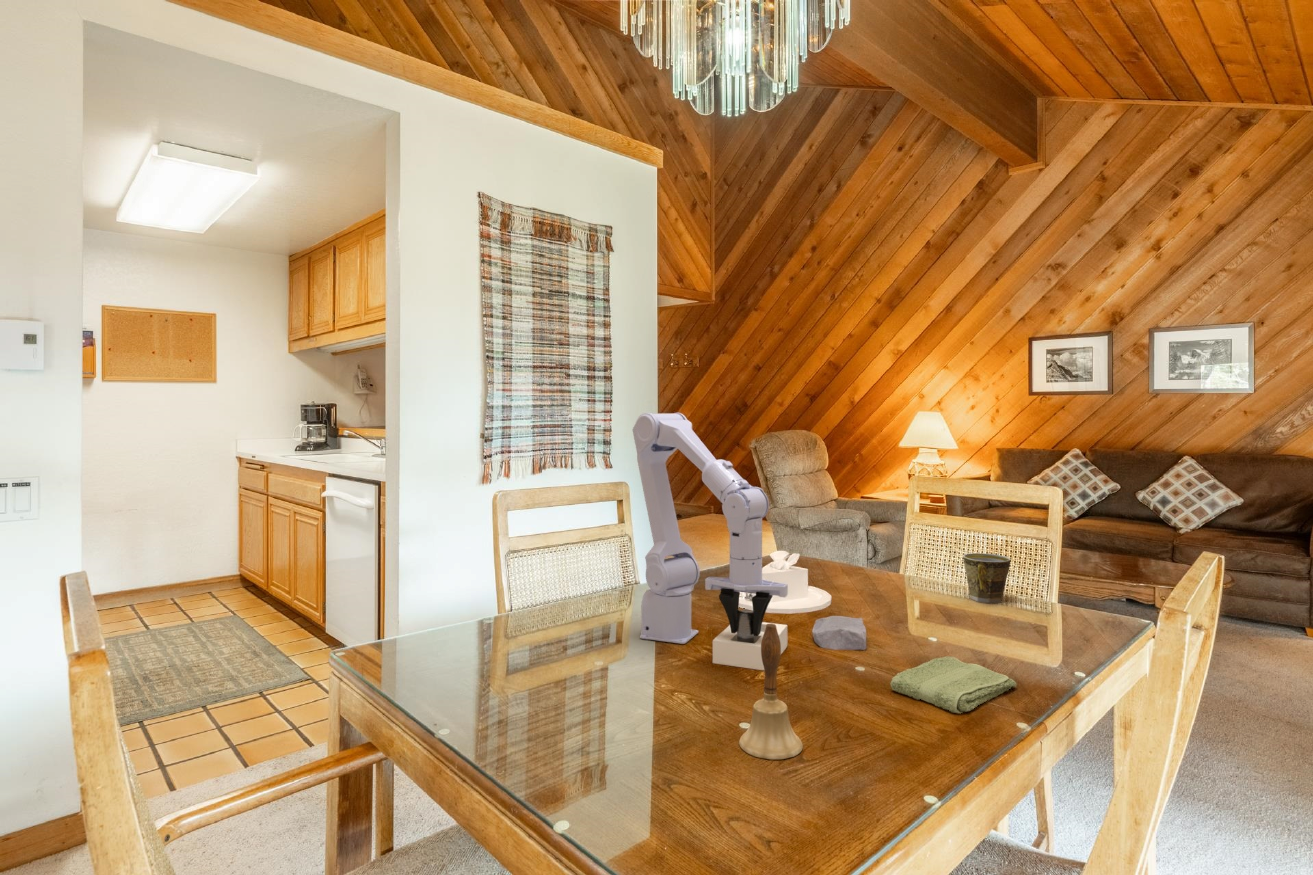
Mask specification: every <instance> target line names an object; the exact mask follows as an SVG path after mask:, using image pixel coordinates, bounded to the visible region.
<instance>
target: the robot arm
mask: <svg viewBox="0 0 1313 875" xmlns="http://www.w3.org/2000/svg"><path fill="white" fill-rule="evenodd" d="M632 434H633V439H634V443H635V450H636V461H637V466H638V470H639V475H640V476H639V477H640V481H641V486H642V491H643V495H644V501H645V505H646V510H647V515H648V521H649V526H650V531H651V537H652V540H653V542H652V543H653V546H652V547H651V549H650V550H649V551H648V553H646V555H645V556H644V558H645V564H646V566H645V568H646V569H645V580H646V583H647V585H648V588H649V589H647V590H646V591H645V592H644V593H643V596H642V598H641V606H640V608H641V609H640V610H641V611H640V613H641V615H640V617H641V620H640V621H641V622H640V624H641V625H640V626H641V631H640V632H641V634H640V635H639V638H640V639H643V640H652V641H659V642H664V643H665V642H667V643H674V644H681V645H684V644H687V643H688V642H689V641H690V640H691V639H693V637H695V636H696V635H697V634H698V633H699V630H697V629H693V628H692V591H694V589H695V588H694V587H695V585H696V584H697V583H698V581H699V579H700V573H701V572H700V566H699V563H698V561H697V559H696V558H695V556H694V554H693V553H694V552H693V548H692V547H691V546H690V545H689V544H687V542H684V541H683V540H682V537H681V533H680V527H679V523H678V518H677V512H676V509H675V504H674V499H673V494H672V490H671V485H670V481H669V480H670V479H669V474H668V469H667V461H668V459H669V457H670V456H672V455H673V454H674V453H675V452H676V451H677V450H679V451H680V452H681V454H683V456H685V457H686V458H687V459H688V460H689V461H690V462H691V463H692V464H694V465H695V467H697V469H699V470H700V471H701V472H702V473H701V480H702V482H703V484H704V485H705V486H706V487H707V488H708V489H709V490H710V492H712V494H713V496H715V497H716V499H717V500H718V501H719V502H720V503H722V504H721V509H722V513H723V515H724V517H725V519H726V523H727V524H726V525H727V526H726V527H727V530H728V532H729V577H728V576H727V577H724V576H723V577H719V576H708V577H706V578H705V579H704V581H705V584H704V587H705V590H706V591H711V590H717V591H718V590H719V591H720V593H719V595H718V599H719V601H720V603H721V605H722V607H723V609H724V611H725V614H726V616H727V619H728V623H729V625H730V628H731V633H736V632H737V611H738V610H739V607H738V606H739V595H740V592H745V593H755V594H756V595H755V596H754V597H753V598H752V604H753V614H754V624H753V635H754V636H758V635H759V634H760V632H761V626H762V622H764V617H765V615H766V614H765V613H766V609H767V607H768V604H769V602H770V600H771V598H772V596H773V595H776V596H779V597H786V596H787V595H788V584H783V583H776V582H771V581H766V580H762V568H763V518H765V517H766V516H767V514H768V512H769V510H770V502H769V498H768V496H767V494H766V492H764V489H763V488H761V487H758V486H753V485H751V484H749V482H748V481H747V480H746V479H744V478H743V477H742V476H741V475H740V474H739V473H738V472H737V470H735V468H733V466H734V465H733V462H731V461H730V460H725V459H721V458H720V459H716V457H715V456H714V455H713V454H712V452H711V451H710V450H709V449H708V448H707V446H706V445H705V444H704V442H703V441H701V439H700V437H699V436H698V435H697V434H696V433H695V431H694V430H693V423H692V422H691V421H690V420H688V419H687V417H686V415H684V414H683V413H681V412H674V413H651V412H643V413H642V414H640V415H639V416H638V418H637V419H636V421H635V424H634V425H633V427H632ZM670 556H672V557H670ZM666 557H669V558H666Z"/></svg>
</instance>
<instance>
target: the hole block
mask: <svg viewBox="0 0 1313 875" xmlns="http://www.w3.org/2000/svg"><path fill="white" fill-rule="evenodd" d="M767 624H775V625H776V629H777V632H778V635H779V639H780V644H781V655H782V654H783V653H784V652H785V650H786V648H787V647H788V625H787V624H782V623H781V624H780V623H773V622H765V621H762V626H761V632H760V634H759V635H758V636H754V643H747V642H739V641H737V632H736V633H731V628H730V624H729V625H728V626H727V627H725V629H723V630H722V631H721V632H720V633H719V634H718V635H717V636H716V637H714V639H712V664H716V665H723V666H724V665H725V666H731V667H737V668H745V669H751V670H757V671H758V670H759V671H764V672H765V670H764V666H763V662H762V657H761V642H762V638H763V635H764V632H765V629H766V625H767Z"/></svg>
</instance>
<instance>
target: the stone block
mask: <svg viewBox="0 0 1313 875" xmlns="http://www.w3.org/2000/svg"><path fill="white" fill-rule="evenodd" d="M863 620H864V619H863V618H862V617H860V618H859V617H858V618H857V617H856V618H855V617H849V616H845V615H830V616H828V617H821V618H818V619H816V620H815V622H814V625H813V627H812V635H813V641H814V643H815V644H816V645H817V646H819V647H820V648H821V649H827V650H837V651H839V650H842V651H843V650H844V651H845V650H848V651H849V650H850V651H865V650H867V630H866V626H865V625H864V622H863Z"/></svg>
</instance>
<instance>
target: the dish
mask: <svg viewBox="0 0 1313 875" xmlns="http://www.w3.org/2000/svg"><path fill="white" fill-rule="evenodd" d="M800 556H801V554H800V553H795V552H794V553H792V554H791V553H790V552H788V551H785V550H776V551H773V552H772V553H770V554H769V557H770V558H771V559H772V560H773V561H771V562H769V563H768V564H766V565H765V566H762V580H766V581H771V582H776V583H783V584H788V595H787V596H786V597H779V596H776V595H773V596H772V598H771V600H770V602H769V604H768V607H767V609H766V612H765V613H767V614H800V613H801V614H802V613H810V612H816V611H821V610H824V609H825V608H827V607H829V606H831V604H832V595H831V594H830V593H829V592H827V590H824V589H821V588H819V587H817V586H816V587H815V586H812V585H809V569H808V568H805V567H804V568H803V567H800V566H795V564H797V563H798V561H799V558H800ZM755 595H756V594H755V593H745V592H740V595H739V606H738V608H739V607H740V608H739V609H743V608H745V609H748V610H753V604H752V598H753V597H754V596H755Z"/></svg>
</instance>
